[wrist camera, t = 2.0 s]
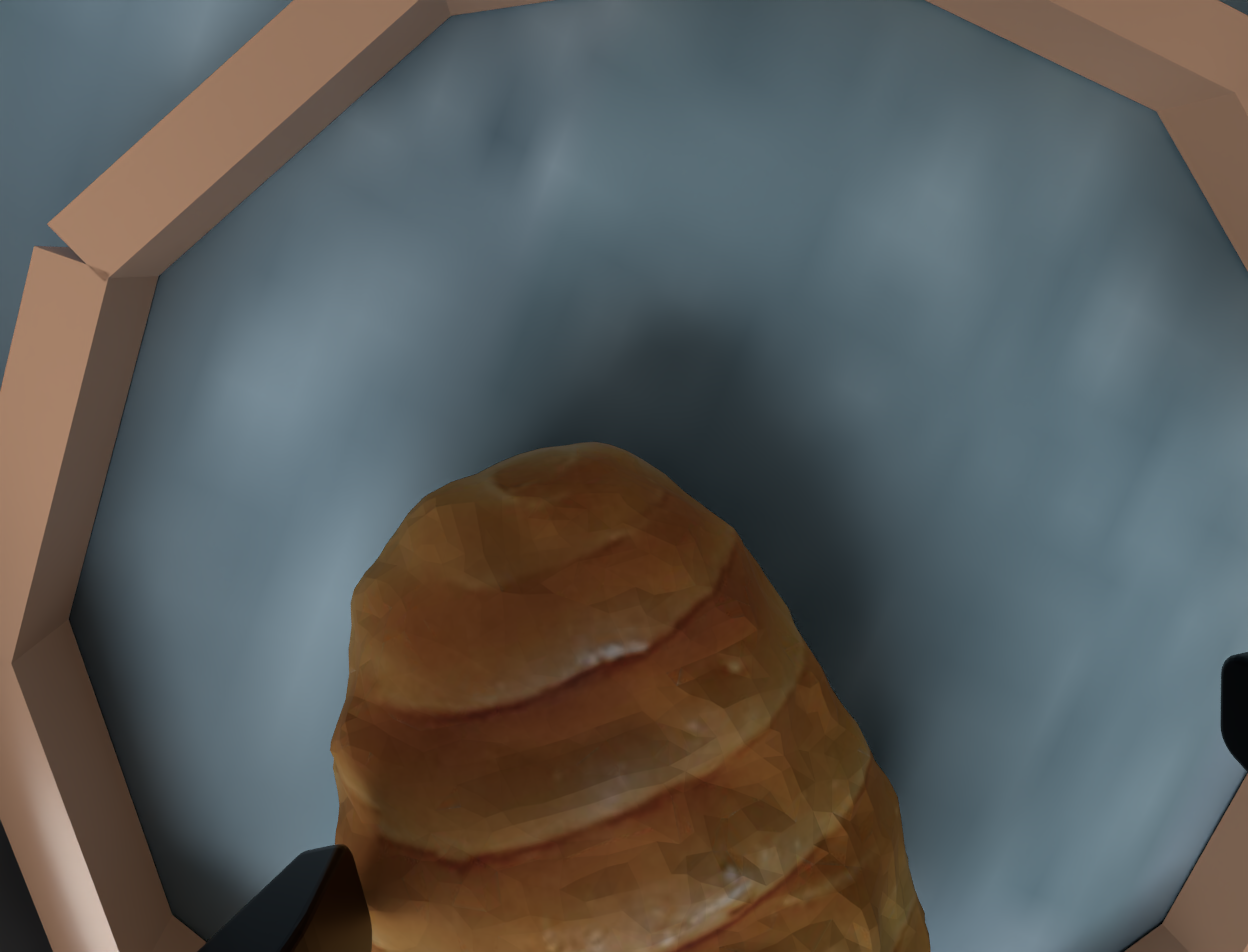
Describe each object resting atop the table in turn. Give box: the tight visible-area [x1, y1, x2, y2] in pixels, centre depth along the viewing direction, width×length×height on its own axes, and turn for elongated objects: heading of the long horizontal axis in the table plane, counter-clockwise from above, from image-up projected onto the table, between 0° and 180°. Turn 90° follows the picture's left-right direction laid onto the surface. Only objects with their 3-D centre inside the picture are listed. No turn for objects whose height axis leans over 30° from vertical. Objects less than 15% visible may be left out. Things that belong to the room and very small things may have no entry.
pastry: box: [330, 442, 930, 952], centre depth 10 cm, size 9×7×4 cm
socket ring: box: [0, 0, 1248, 952], centre depth 11 cm, size 17×17×1 cm
